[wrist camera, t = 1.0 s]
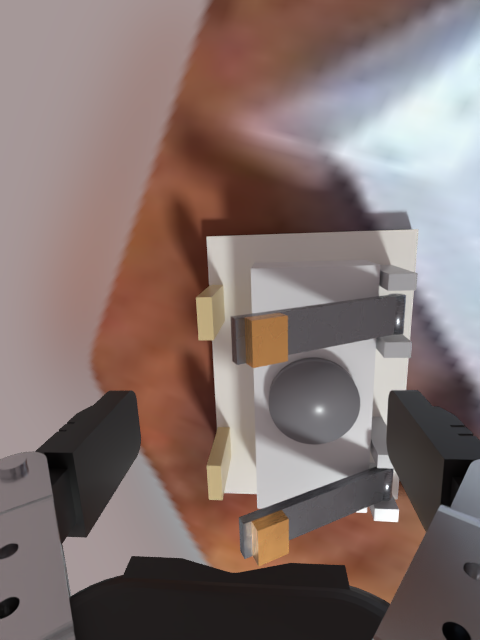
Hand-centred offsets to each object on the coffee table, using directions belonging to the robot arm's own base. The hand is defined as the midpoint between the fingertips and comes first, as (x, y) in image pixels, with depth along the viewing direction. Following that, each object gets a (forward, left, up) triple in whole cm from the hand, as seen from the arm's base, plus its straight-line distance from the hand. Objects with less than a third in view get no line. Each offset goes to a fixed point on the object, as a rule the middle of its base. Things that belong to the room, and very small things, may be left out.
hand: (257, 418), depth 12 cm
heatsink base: (+6, +3, -18) cm, 19 cm away
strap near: (0, +3, -11) cm, 11 cm away
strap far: (+12, +3, -11) cm, 16 cm away
